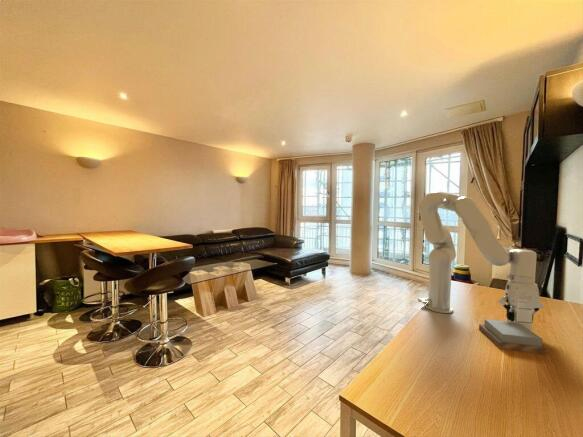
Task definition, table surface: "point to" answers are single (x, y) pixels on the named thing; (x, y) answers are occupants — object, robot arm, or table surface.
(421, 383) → the table surface
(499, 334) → the slate-grey slab
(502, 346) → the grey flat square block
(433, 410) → the table surface
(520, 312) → the syrup box
